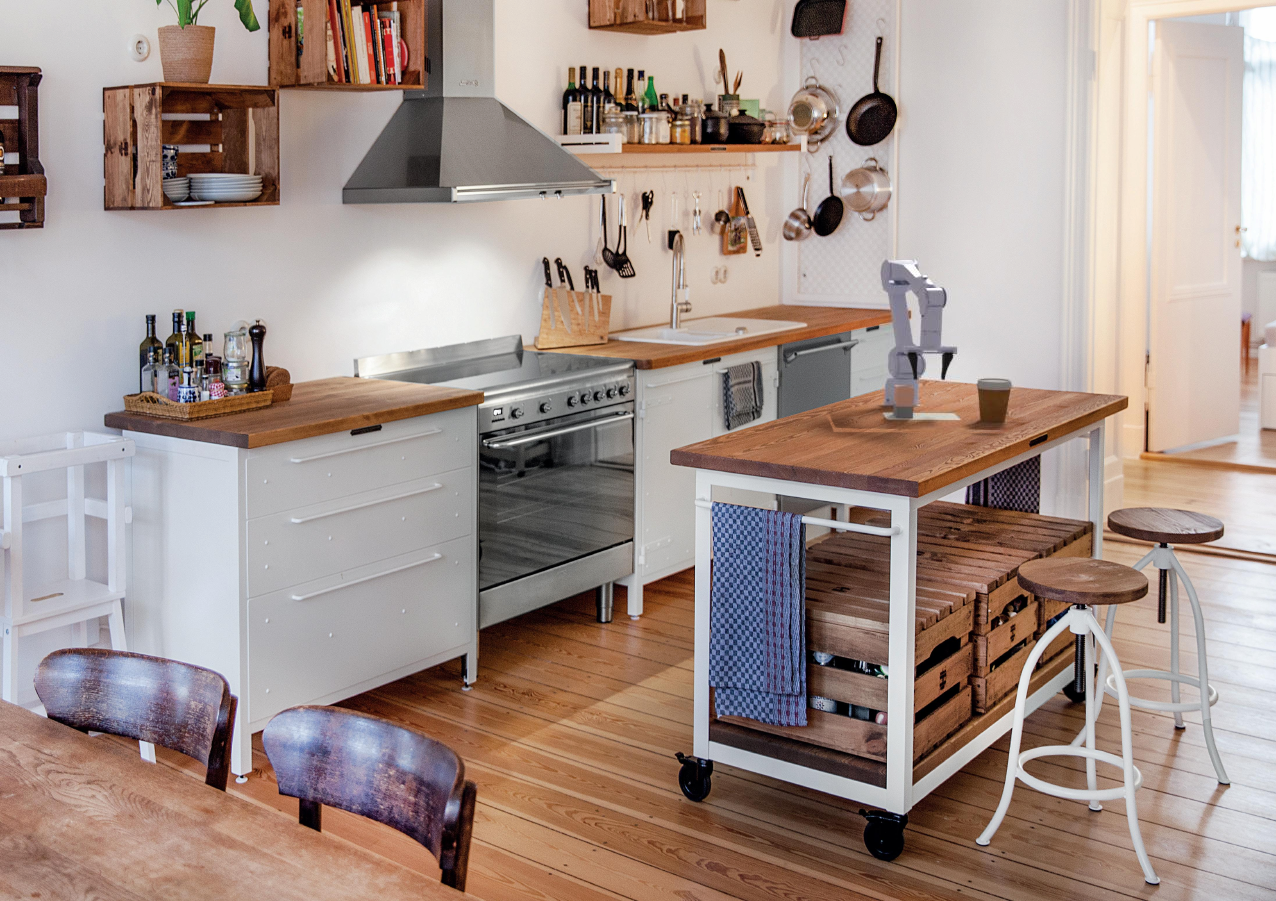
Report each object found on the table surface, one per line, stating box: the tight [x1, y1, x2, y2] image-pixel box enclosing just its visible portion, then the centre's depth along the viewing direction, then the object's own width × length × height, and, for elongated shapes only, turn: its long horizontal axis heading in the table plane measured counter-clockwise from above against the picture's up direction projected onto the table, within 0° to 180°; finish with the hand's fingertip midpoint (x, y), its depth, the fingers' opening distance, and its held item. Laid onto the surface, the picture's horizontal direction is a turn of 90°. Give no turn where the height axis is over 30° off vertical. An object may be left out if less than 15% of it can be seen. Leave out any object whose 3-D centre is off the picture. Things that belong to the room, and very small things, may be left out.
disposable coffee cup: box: [975, 377, 1013, 423], centre depth 340 cm, size 10×10×12 cm
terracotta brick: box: [894, 385, 915, 408], centre depth 347 cm, size 4×7×5 cm, turn 175°
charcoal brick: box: [892, 404, 914, 418], centre depth 348 cm, size 4×7×3 cm, turn 175°
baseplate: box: [882, 412, 962, 421], centre depth 348 cm, size 20×12×1 cm, turn 85°
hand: (929, 379), depth 353 cm, fingers open, 7 cm apart
